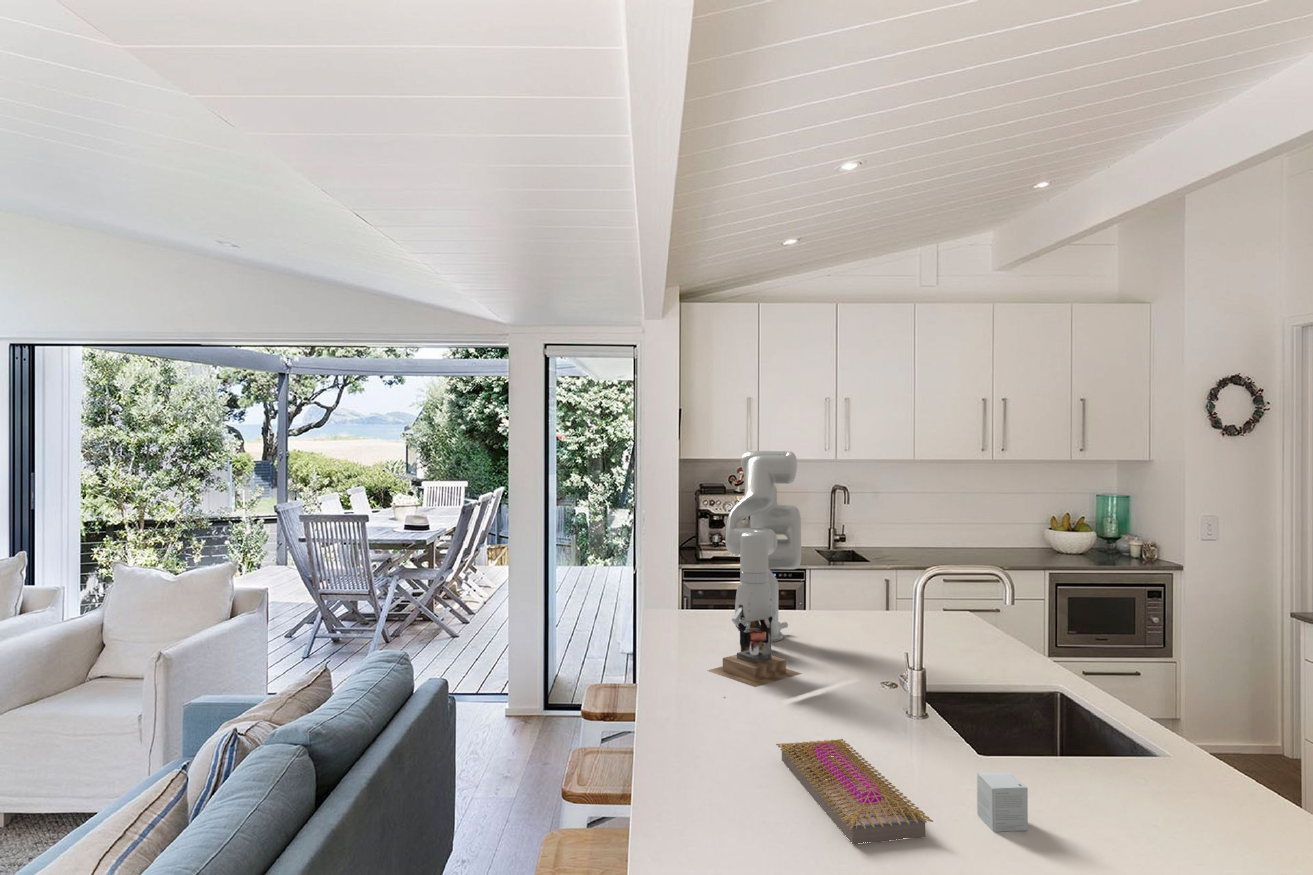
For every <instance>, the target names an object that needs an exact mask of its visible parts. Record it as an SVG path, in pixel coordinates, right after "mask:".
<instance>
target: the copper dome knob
mask: <svg viewBox="0 0 1313 875" xmlns="http://www.w3.org/2000/svg"><path fill="white" fill-rule="evenodd" d="M748 632H750V641H751V642H750V655H752V656H757V655H759V642H760V641H765V640H766V631H765V630H763V629H757V628H749V630H748Z"/></svg>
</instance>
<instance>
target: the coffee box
mask: <svg viewBox="0 0 1313 875" xmlns="http://www.w3.org/2000/svg"><path fill="white" fill-rule="evenodd" d="M745 624H746V623H745V622H744V626H745ZM759 626H760V623H759V620H758V621H753V622H751V623H750V627H749V628H757V629H758V628H759ZM750 642H751V641H750ZM739 646H740V651H739V652H743V651H747V650H750V647H748V648H747V647H744V646H741V645H740V644H739ZM759 650H760V651H763V652H767V653H770V654H772V642H771V623H770V627H769V628H768V643H764V642H759Z"/></svg>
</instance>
